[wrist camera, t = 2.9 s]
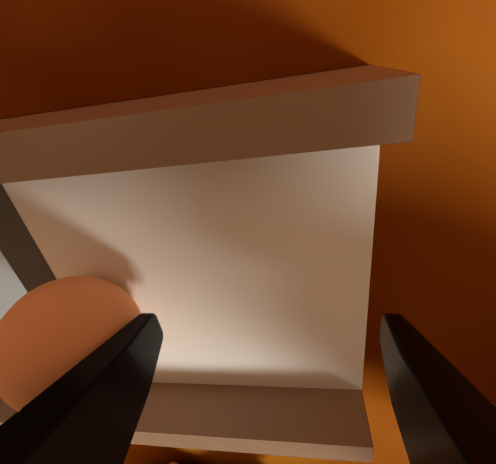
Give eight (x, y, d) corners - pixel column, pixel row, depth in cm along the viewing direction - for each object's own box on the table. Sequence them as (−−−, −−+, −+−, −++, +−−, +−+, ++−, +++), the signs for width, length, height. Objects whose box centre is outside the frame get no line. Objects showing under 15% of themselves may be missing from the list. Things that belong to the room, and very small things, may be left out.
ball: (146, 253, 9) (36, 376, 6) (180, 339, 11) (113, 464, 8) (45, 247, 10) (-91, 347, 7) (94, 326, 12) (6, 430, 9)
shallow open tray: (370, 64, 8) (433, 76, 4) (354, 371, 13) (375, 479, 10) (-186, 146, 11) (-401, 190, 8) (-3, 361, 17) (-78, 440, 13)
